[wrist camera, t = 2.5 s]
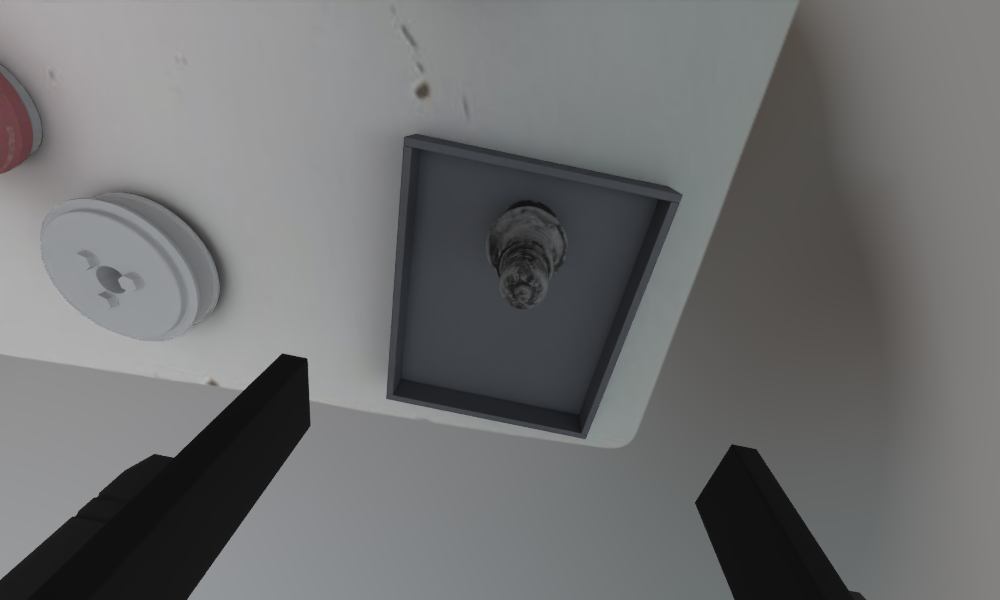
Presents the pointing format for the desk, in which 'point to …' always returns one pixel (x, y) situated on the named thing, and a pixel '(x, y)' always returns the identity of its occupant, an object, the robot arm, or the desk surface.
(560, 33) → the desk surface
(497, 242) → the chess piece
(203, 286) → the grey pulley wheel
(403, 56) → the desk surface
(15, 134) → the container
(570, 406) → the tray
